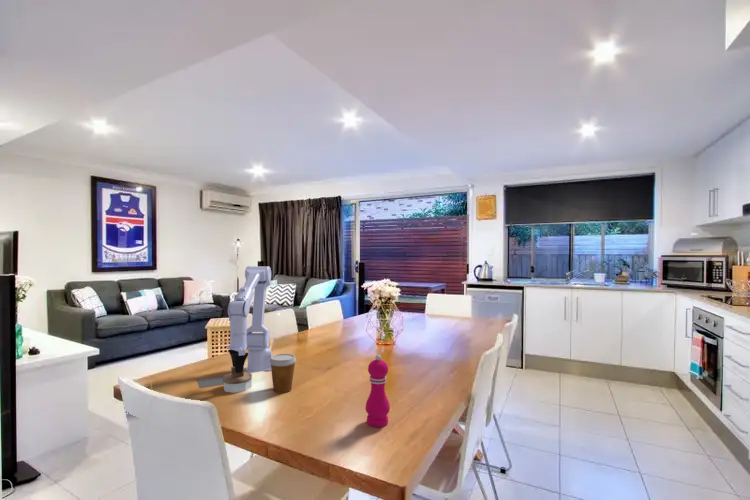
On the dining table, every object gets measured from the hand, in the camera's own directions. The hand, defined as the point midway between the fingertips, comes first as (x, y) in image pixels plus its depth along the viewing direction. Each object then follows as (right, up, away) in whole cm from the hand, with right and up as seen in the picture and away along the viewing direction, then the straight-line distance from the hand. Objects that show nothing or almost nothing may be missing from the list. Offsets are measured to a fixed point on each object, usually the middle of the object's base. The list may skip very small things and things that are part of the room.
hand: (237, 370), depth 134 cm
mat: (-12, -7, +6) cm, 15 cm away
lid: (0, -3, 0) cm, 3 cm away
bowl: (0, -7, 0) cm, 7 cm away
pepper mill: (+51, -7, -26) cm, 58 cm away
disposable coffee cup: (+17, -7, -1) cm, 18 cm away
